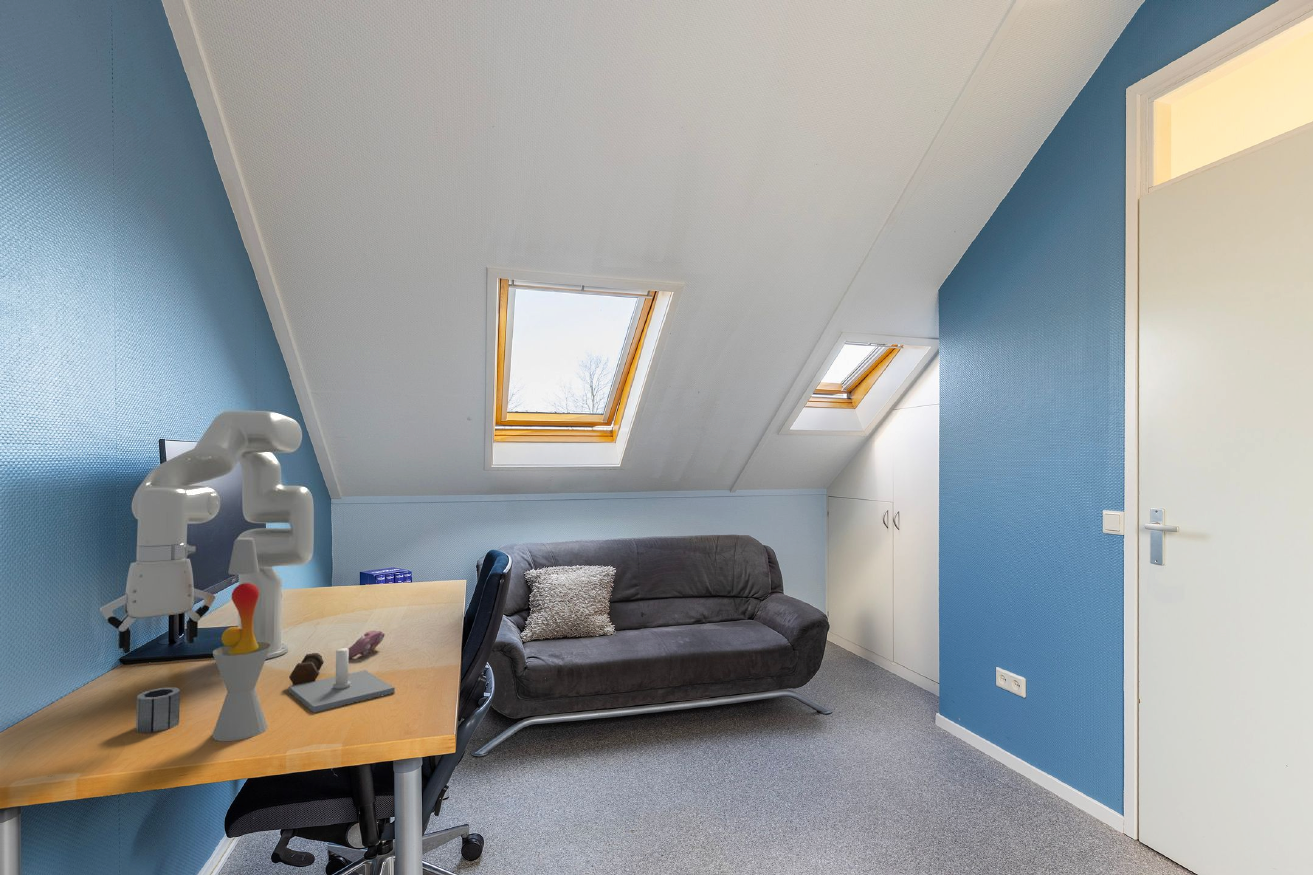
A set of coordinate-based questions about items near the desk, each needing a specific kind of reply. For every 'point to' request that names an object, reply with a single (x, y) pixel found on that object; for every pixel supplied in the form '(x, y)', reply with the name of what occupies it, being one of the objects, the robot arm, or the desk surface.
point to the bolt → (307, 669)
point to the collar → (157, 710)
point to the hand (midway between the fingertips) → (158, 646)
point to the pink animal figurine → (366, 643)
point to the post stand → (340, 687)
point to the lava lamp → (241, 656)
